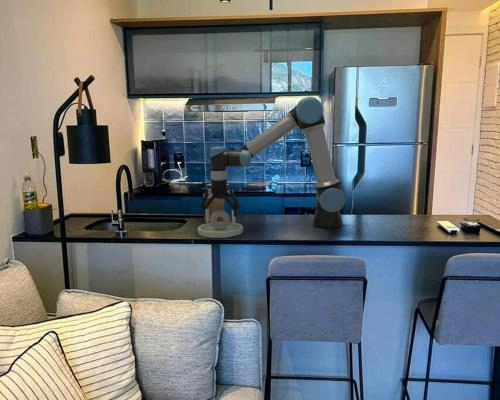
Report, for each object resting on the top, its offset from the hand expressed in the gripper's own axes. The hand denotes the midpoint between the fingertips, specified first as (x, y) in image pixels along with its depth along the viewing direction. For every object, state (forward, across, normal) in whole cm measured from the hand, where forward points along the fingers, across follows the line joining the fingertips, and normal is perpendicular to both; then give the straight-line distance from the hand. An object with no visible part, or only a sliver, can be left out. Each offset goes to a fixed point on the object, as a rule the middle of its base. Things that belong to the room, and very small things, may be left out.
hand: (220, 222), depth 207 cm
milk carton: (+5, +12, -22) cm, 26 cm away
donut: (+4, 0, 0) cm, 4 cm away
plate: (+5, 0, 0) cm, 5 cm away
